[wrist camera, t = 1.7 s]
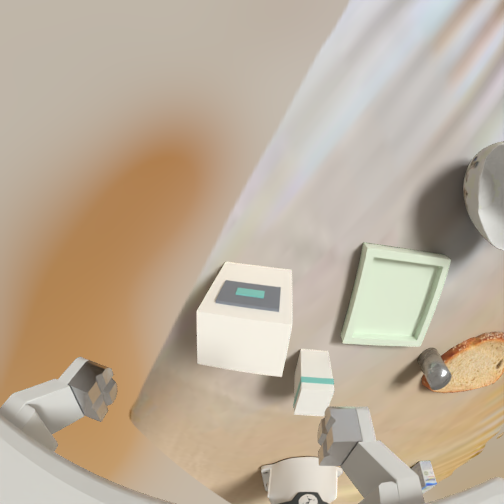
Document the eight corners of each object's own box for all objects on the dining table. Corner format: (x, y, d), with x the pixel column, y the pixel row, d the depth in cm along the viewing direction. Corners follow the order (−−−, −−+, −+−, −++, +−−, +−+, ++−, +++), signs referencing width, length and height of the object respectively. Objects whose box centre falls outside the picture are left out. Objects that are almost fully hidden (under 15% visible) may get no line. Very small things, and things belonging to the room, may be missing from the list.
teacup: (430, 211, 29) (464, 227, 22) (458, 122, 25) (495, 118, 18) (498, 252, 29) (530, 272, 22) (523, 176, 25) (558, 184, 17)
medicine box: (412, 474, 48) (417, 497, 40) (400, 475, 49) (405, 499, 40) (430, 459, 46) (437, 484, 38) (419, 460, 46) (425, 486, 38)
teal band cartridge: (320, 376, 39) (324, 416, 31) (294, 374, 39) (293, 414, 32) (328, 350, 37) (335, 390, 29) (300, 348, 37) (301, 388, 30)
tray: (415, 338, 35) (420, 346, 33) (340, 334, 36) (342, 343, 34) (444, 254, 31) (451, 259, 29) (363, 242, 32) (367, 247, 30)
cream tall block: (284, 316, 36) (280, 381, 25) (223, 308, 37) (197, 368, 25) (292, 266, 34) (293, 320, 22) (226, 258, 34) (196, 306, 23)
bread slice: (414, 376, 38) (420, 391, 34) (492, 301, 32) (504, 311, 28) (450, 409, 40) (455, 421, 36) (514, 349, 34) (523, 360, 30)
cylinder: (432, 365, 36) (444, 389, 31) (414, 365, 36) (426, 391, 31) (440, 347, 35) (455, 371, 29) (423, 347, 35) (437, 372, 30)
